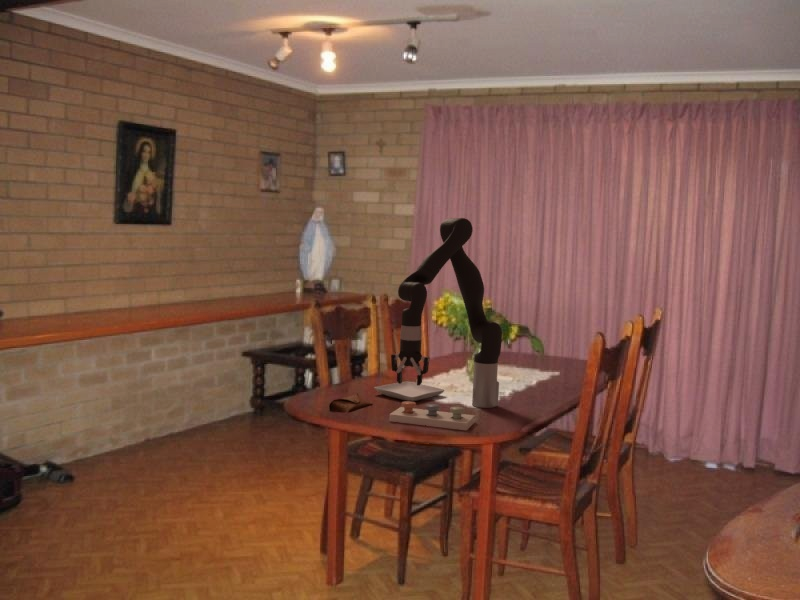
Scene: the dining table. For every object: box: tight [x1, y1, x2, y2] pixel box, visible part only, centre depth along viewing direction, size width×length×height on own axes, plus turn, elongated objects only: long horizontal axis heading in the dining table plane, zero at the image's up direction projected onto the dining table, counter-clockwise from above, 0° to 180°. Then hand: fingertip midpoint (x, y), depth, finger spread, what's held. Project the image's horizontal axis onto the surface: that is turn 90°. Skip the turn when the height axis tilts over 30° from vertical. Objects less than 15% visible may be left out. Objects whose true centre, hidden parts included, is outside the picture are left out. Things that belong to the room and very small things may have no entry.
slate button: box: [424, 403, 441, 417], centre depth 278 cm, size 5×5×4 cm
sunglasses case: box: [328, 393, 374, 414], centre depth 297 cm, size 18×7×7 cm
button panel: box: [388, 406, 476, 431], centre depth 279 cm, size 28×12×2 cm, turn 71°
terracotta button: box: [400, 400, 417, 414], centre depth 281 cm, size 5×5×4 cm
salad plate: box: [373, 381, 446, 402], centre depth 319 cm, size 21×21×3 cm
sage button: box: [449, 406, 466, 420], centre depth 275 cm, size 5×5×4 cm
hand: (409, 384), depth 280 cm, fingers open, 6 cm apart
